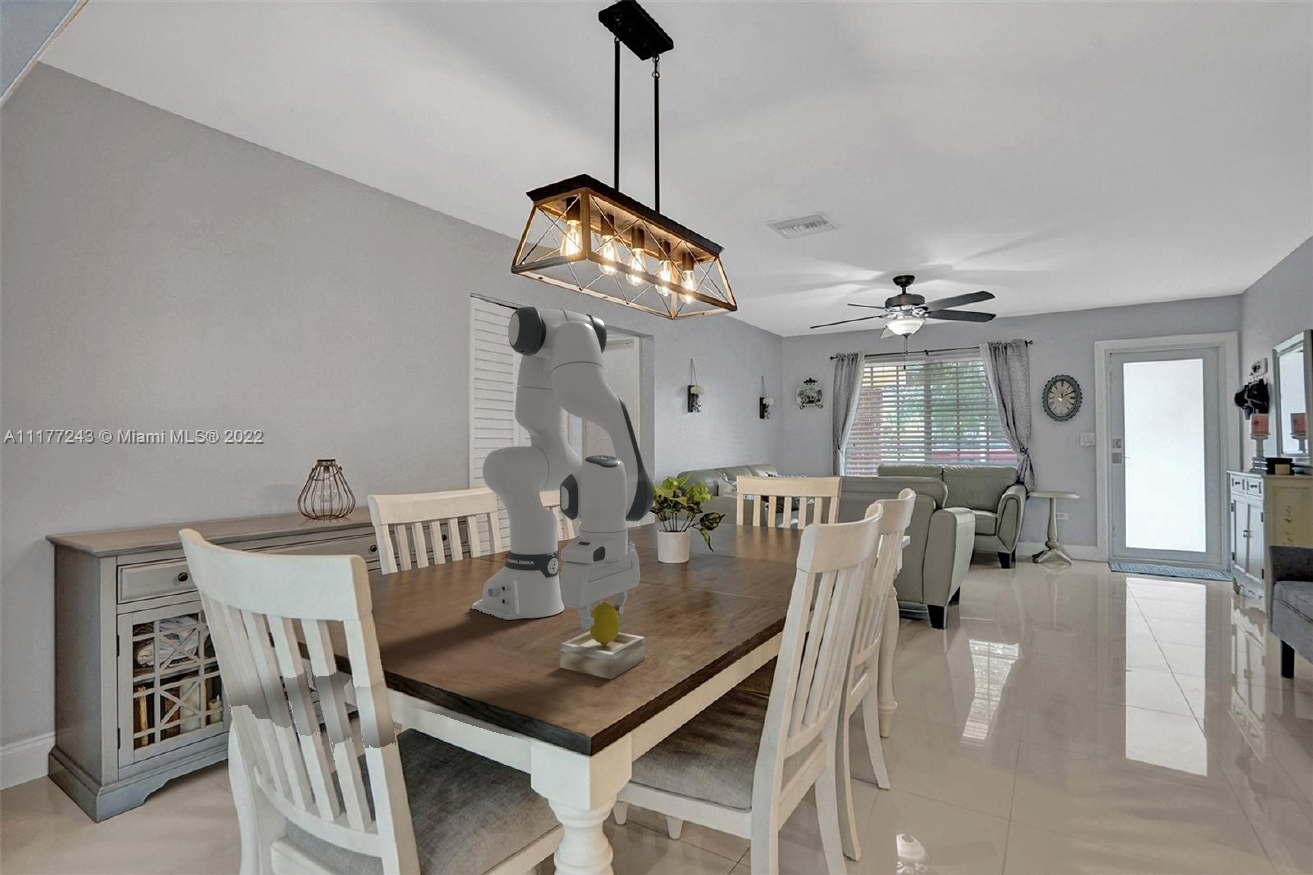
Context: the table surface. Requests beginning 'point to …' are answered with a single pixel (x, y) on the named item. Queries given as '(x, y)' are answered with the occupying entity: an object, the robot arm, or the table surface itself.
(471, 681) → the table surface
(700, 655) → the table surface
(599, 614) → the lemon
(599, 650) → the base
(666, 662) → the table surface
